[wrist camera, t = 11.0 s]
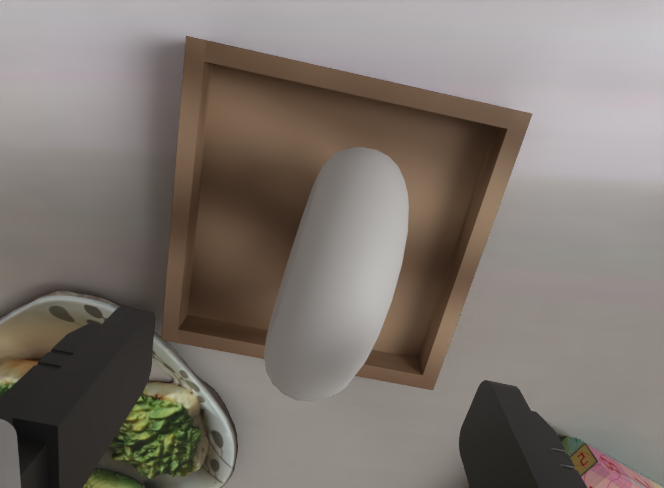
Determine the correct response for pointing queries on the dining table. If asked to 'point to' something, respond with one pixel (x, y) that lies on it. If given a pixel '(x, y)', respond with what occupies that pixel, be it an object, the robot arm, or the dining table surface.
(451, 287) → the display tray
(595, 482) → the puzzle game
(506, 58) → the dining table surface
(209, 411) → the salad plate
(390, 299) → the white ring
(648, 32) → the dining table surface
